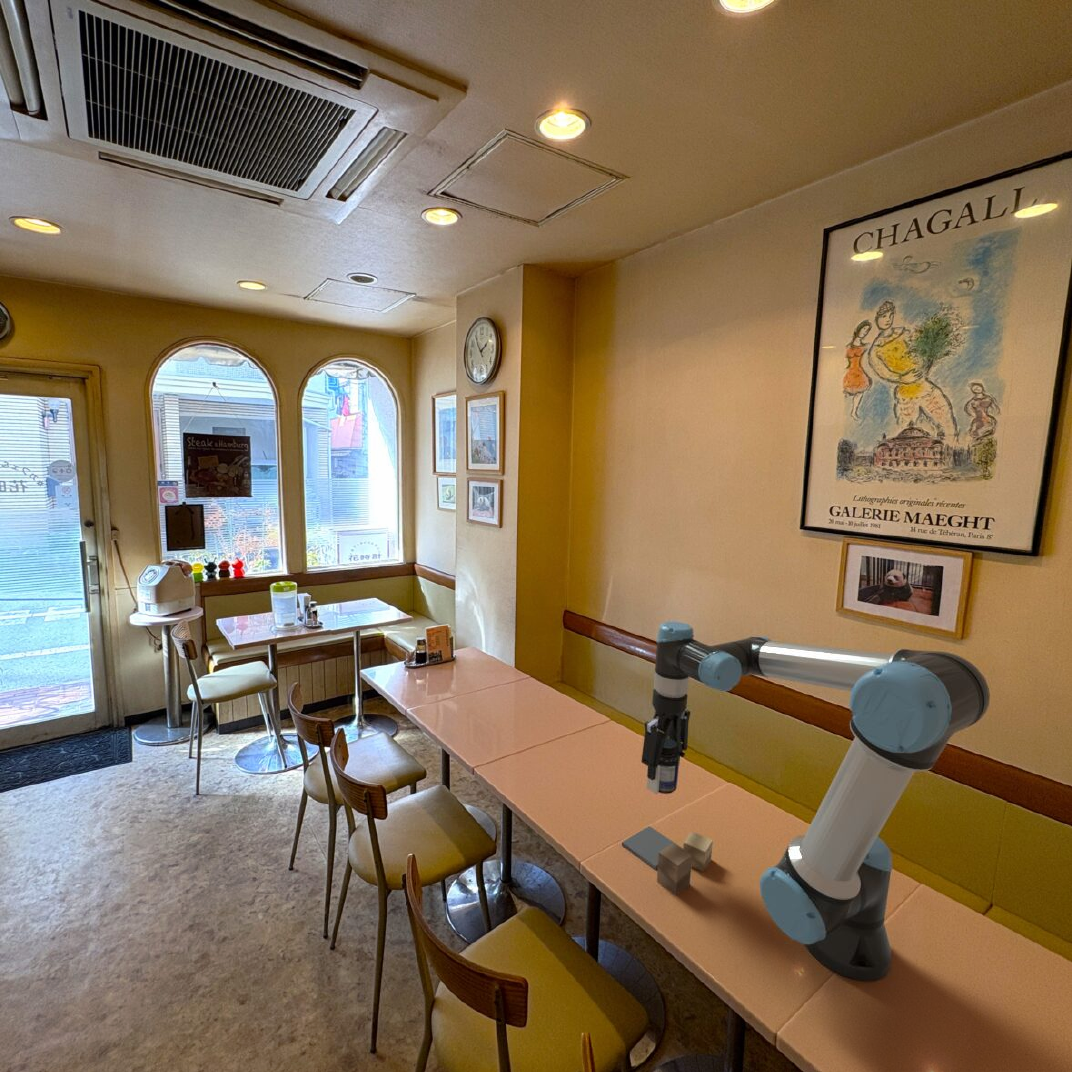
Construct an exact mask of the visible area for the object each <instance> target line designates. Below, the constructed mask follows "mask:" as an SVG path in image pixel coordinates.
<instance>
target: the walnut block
mask: <svg viewBox="0 0 1072 1072" xmlns="http://www.w3.org/2000/svg"><path fill="white" fill-rule="evenodd" d="M674 843H675V842H674ZM674 843H672V844H671V845H669V846H668V847H666V848H665V849H663V850H661V851H660V852H659V856H658V868H657V873H656V874H657V875H656V883H658V884H660V885H661V886H662V887H664V888H665V889H666V890H667V891H670V893H672V894H673V895H674V896H677V895H678V894H680V893H681V892H682V891H683V890H685V889H687V888H688V887H689V886H690V885H691V875H692V866H691V864H692V855H691V854H689V853H688V852H686V851H685V850H683V849H682V848H683V847H682V848H680V847H681V846H680V845H679V846H680V847H679V846H677V845H678V844H677V843H676V844H677V845H676V844H674Z"/></svg>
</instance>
